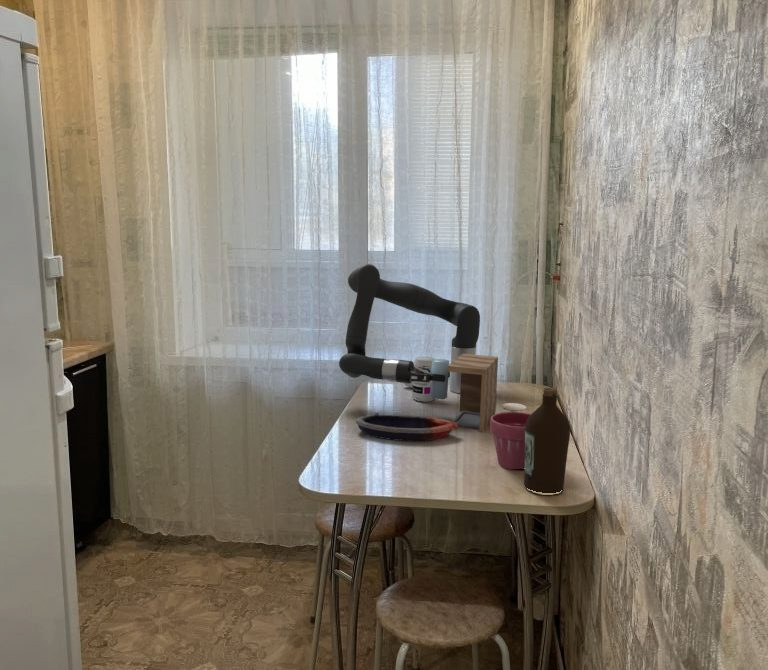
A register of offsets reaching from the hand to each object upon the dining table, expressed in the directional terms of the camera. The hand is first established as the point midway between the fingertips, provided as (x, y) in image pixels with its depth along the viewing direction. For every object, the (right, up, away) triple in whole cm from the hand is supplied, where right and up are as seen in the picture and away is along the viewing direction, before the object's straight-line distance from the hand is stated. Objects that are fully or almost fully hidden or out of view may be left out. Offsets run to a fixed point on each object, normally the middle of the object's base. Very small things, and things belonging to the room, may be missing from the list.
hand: (447, 376), depth 222 cm
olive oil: (+19, -24, -54) cm, 62 cm away
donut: (-9, -7, +41) cm, 43 cm away
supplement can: (-6, -10, +26) cm, 28 cm away
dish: (-14, -17, -15) cm, 27 cm away
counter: (+8, -14, +1) cm, 16 cm away
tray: (+8, -15, 0) cm, 16 cm away
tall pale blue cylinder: (-3, -7, +2) cm, 7 cm away
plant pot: (+15, -22, -38) cm, 46 cm away
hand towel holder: (+23, -16, -1) cm, 28 cm away
